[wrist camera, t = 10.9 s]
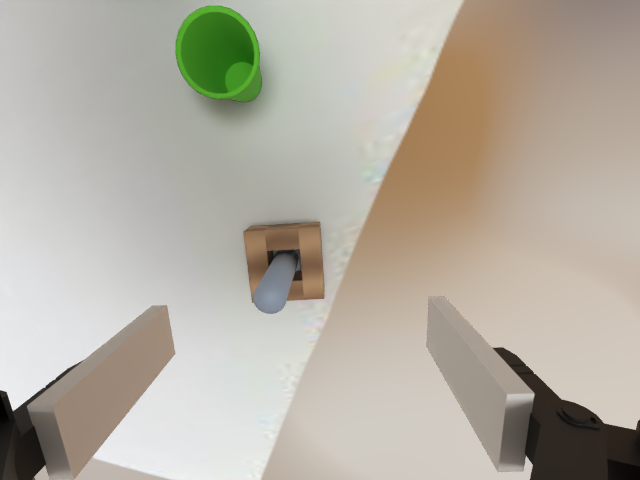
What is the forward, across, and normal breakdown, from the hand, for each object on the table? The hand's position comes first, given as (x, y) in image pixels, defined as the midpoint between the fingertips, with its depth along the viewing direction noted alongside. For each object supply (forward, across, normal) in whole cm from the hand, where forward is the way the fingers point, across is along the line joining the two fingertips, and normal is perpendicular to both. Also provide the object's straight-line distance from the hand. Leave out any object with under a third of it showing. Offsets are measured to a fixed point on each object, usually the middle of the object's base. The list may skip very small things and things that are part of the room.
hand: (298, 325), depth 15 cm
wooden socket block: (+33, -5, -6) cm, 33 cm away
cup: (+33, -9, +20) cm, 40 cm away
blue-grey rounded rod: (+33, -5, -6) cm, 34 cm away
